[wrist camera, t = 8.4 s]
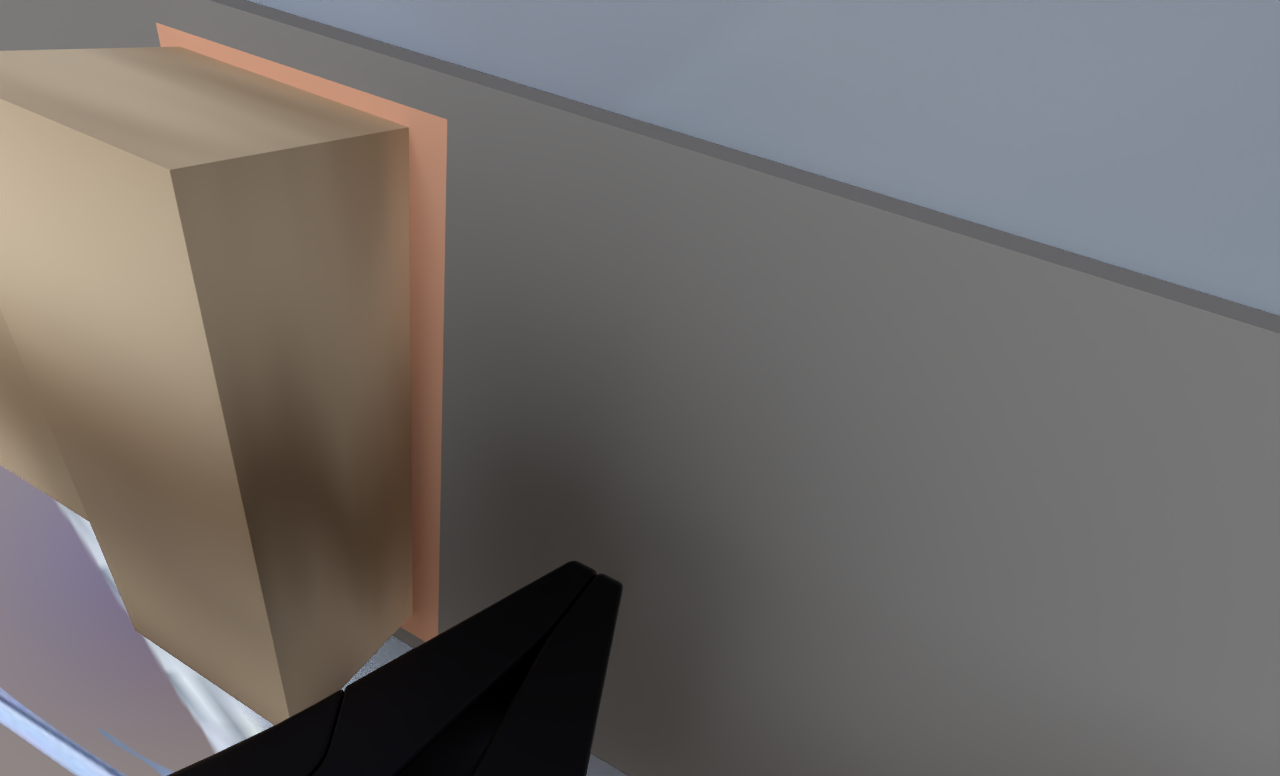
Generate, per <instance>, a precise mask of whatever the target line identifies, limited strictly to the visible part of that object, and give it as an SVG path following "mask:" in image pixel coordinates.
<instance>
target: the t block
mask: <svg viewBox="0 0 1280 776" xmlns="http://www.w3.org/2000/svg"><path fill="white" fill-rule="evenodd" d="M0 465H1V466H3V467H4V468H6V469H8V470H9V471H11V472H12V473H14V474H15V475H17V476H19V477H20V478H22V479H23V480H25V481H26V482H28V483H30V484H31V485H33V486H34V487H36V488H37V489H39V490H41V491H42V492H44V493H45V494H47V495H48V496H50V497H52V498H53V499H55V500H56V501H58V502H59V503H61V504H62V505H64V506H66V507H67V508H69V509H70V510H72V511H73V512H75V513H77V514H78V515H80V516H81V517H83V518H84V519H86V520H87V521H89V522H90V524H91V526H92V529H93V531H94V533H95V536H96V538H97V541H98V543H99V545H100V548H101V550H102V553H103V555H104V557H105V560H106V562H107V564H108V567H109V569H110V572H111V574H112V576H113V579H114V581H115V584H116V586H117V588H118V591H119V593H120V595H121V598H122V600H123V603H124V605H125V607H126V610H127V612H128V615H129V617H130V619H131V622H132V624H133V626H134V629H135V631H137V632H138V633H140V634H141V635H143V636H144V637H146V638H147V639H149V640H150V641H152V642H153V643H155V644H156V645H158V646H159V647H160V648H162V649H163V650H165V651H166V652H168V653H169V654H171V655H172V656H174V657H175V658H177V659H178V660H180V661H181V662H182V663H184V664H185V665H187V666H188V667H190V668H191V669H193V670H194V671H196V672H197V673H199V674H200V675H202V676H203V677H204V678H206V679H207V680H209V681H210V682H212V683H213V684H215V685H216V686H218V687H219V688H221V689H222V690H224V691H225V692H226V693H228V694H229V695H231V696H232V697H234V698H235V699H237V700H238V701H240V702H241V703H243V704H244V705H246V706H247V707H249V708H250V709H251V710H253V711H254V712H256V713H257V714H259V715H260V716H262V717H263V718H265V719H266V720H268V721H269V722H271V723H272V724H273V725H276V724H278V723H280V722H282V721H284V720H286V719H288V718H289V717H291V716H293V715H295V714H297V713H299V712H301V711H303V710H304V709H306V708H308V707H310V706H312V705H314V704H316V703H317V702H319V701H321V700H323V699H324V698H326V697H328V696H330V695H331V694H333V693H335V692H337V691H338V690H341V689H342V688H343V687H344V686H345V684H346V683H347V682H348V681H349V680H350V679H351V678H352V677H353V676H354V675H355V674H356V673H357V672H358V671H359V670H360V669H361V668H362V667H363V665H364V664H365V663H366V662H367V661H368V660H369V659H370V658H371V657H372V656H373V655H374V654H375V653H376V652H377V651H378V650H379V649H380V648H381V646H382V645H383V644H384V643H385V642H386V641H387V640H388V639H389V638H390V637H391V636H392V635H393V634H394V633H395V632H396V631H397V630H398V629H399V628H400V626H401V625H402V624H403V623H404V622H405V621H406V620H407V619H408V618H409V617H410V616H411V615H412V614H413V586H412V470H411V353H410V237H409V127H407V126H404V125H401V124H398V123H395V122H392V121H390V120H387V119H384V118H381V117H378V116H375V115H373V114H370V113H367V112H364V111H361V110H358V109H356V108H353V107H350V106H347V105H344V104H341V103H339V102H336V101H333V100H330V99H327V98H324V97H322V96H319V95H316V94H313V93H310V92H307V91H305V90H302V89H299V88H296V87H293V86H290V85H288V84H285V83H282V82H279V81H276V80H273V79H271V78H268V77H265V76H262V75H259V74H256V73H254V72H251V71H248V70H245V69H242V68H239V67H237V66H234V65H231V64H228V63H225V62H222V61H220V60H217V59H214V58H211V57H208V56H205V55H203V54H200V53H197V52H194V51H191V50H188V49H186V48H183V47H139V48H98V49H57V50H16V51H0Z"/></svg>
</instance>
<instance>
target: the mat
mask: <svg viewBox="0 0 1280 776" xmlns="http://www.w3.org/2000/svg"><path fill="white" fill-rule="evenodd" d="M139 47H183V48H186V49H188V50H191V51H194V52H197V53H200V54H203V55H205V56H208V57H211V58H214V59H217V60H220V61H222V62H225V63H228V64H231V65H234V66H237V67H239V68H242V69H245V70H248V71H251V72H254V73H256V74H259V75H262V76H265V77H268V78H271V79H273V80H276V81H279V82H282V83H285V84H288V85H290V86H293V87H296V88H299V89H302V90H305V91H307V92H310V93H313V94H316V95H319V96H322V97H324V98H327V99H330V100H333V101H336V102H339V103H341V104H344V105H347V106H350V107H353V108H356V109H358V110H361V111H364V112H367V113H370V114H373V115H375V116H378V117H381V118H384V119H387V120H390V121H392V122H395V123H398V124H401V125H404V126H407V127H409V237H410V353H411V470H412V586H413V614H412V615H411V616H410V617H409V618H408V619H407V620H406V621H405V622H404V623H403V624H402V625H401V626H400V628H399V629H398V630H397V631H396V632H395V633H394V634H393V636H394V637H396V638H398V639H399V640H401V641H403V642H404V643H406V644H408V645H409V646H411V647H413V648H416V647H417V646H419V645H421V644H423V643H425V642H426V641H428V640H430V639H432V638H434V637H435V636H437V635H439V634H441V633H442V632H444V631H446V630H448V629H450V628H451V627H453V626H455V625H457V624H458V623H460V622H462V621H464V620H466V619H467V618H469V617H471V616H473V615H475V614H476V613H478V612H480V611H482V610H483V609H485V608H487V607H489V606H491V605H492V604H494V603H496V602H498V601H499V600H501V599H503V598H505V597H507V596H508V595H510V594H512V593H514V592H515V591H517V590H519V589H521V588H523V587H524V586H526V585H528V584H530V583H532V582H533V581H535V580H537V579H539V578H540V577H542V576H544V575H546V574H548V573H549V572H551V571H553V570H555V569H556V568H558V567H560V566H562V565H564V564H565V563H567V562H569V561H578V562H580V563H582V564H584V565H586V566H588V567H590V568H592V569H594V570H595V571H596V572H597V575H598V574H600V573H601V574H605V575H607V576H609V577H611V578H613V579H615V580H617V581H619V582H621V583H622V585H623V591H622V596H621V601H620V606H619V611H618V616H617V621H616V626H615V631H614V636H613V642H612V647H611V652H610V657H609V662H608V667H607V672H606V677H605V682H604V687H603V692H602V697H601V702H600V707H599V712H598V717H597V723H596V728H595V733H594V738H593V743H592V748H591V754H593V755H595V756H596V757H598V758H600V759H601V760H603V761H605V762H606V763H608V764H610V765H611V766H613V767H615V768H616V769H618V770H620V771H621V772H623V773H625V774H627V775H628V776H1280V316H1277V315H1274V314H1271V313H1267V312H1264V311H1261V310H1258V309H1254V308H1251V307H1248V306H1245V305H1241V304H1238V303H1235V302H1231V301H1228V300H1225V299H1222V298H1218V297H1215V296H1212V295H1209V294H1205V293H1202V292H1199V291H1195V290H1192V289H1189V288H1186V287H1182V286H1179V285H1176V284H1173V283H1169V282H1166V281H1163V280H1159V279H1156V278H1153V277H1150V276H1146V275H1143V274H1140V273H1137V272H1133V271H1130V270H1127V269H1123V268H1120V267H1117V266H1114V265H1110V264H1107V263H1104V262H1101V261H1097V260H1094V259H1091V258H1087V257H1084V256H1081V255H1078V254H1074V253H1071V252H1068V251H1065V250H1061V249H1058V248H1055V247H1051V246H1048V245H1045V244H1042V243H1038V242H1035V241H1032V240H1029V239H1025V238H1022V237H1019V236H1015V235H1012V234H1009V233H1006V232H1002V231H999V230H996V229H993V228H989V227H986V226H983V225H979V224H976V223H973V222H970V221H966V220H963V219H960V218H957V217H953V216H950V215H947V214H943V213H940V212H937V211H934V210H930V209H927V208H924V207H921V206H917V205H914V204H911V203H907V202H904V201H901V200H898V199H894V198H891V197H888V196H885V195H881V194H878V193H875V192H871V191H868V190H865V189H862V188H858V187H855V186H852V185H849V184H845V183H842V182H839V181H835V180H832V179H829V178H826V177H822V176H819V175H816V174H813V173H809V172H806V171H803V170H799V169H796V168H793V167H790V166H786V165H783V164H780V163H777V162H773V161H770V160H767V159H763V158H760V157H757V156H754V155H750V154H747V153H744V152H741V151H737V150H734V149H731V148H727V147H724V146H721V145H718V144H714V143H711V142H708V141H705V140H701V139H698V138H695V137H691V136H688V135H685V134H682V133H678V132H675V131H672V130H669V129H665V128H662V127H659V126H655V125H652V124H649V123H646V122H642V121H639V120H636V119H633V118H629V117H626V116H623V115H619V114H616V113H613V112H610V111H606V110H603V109H600V108H597V107H593V106H590V105H587V104H583V103H580V102H577V101H574V100H570V99H567V98H564V97H561V96H557V95H554V94H551V93H547V92H544V91H541V90H538V89H534V88H531V87H528V86H525V85H521V84H518V83H515V82H511V81H508V80H505V79H502V78H498V77H495V76H492V75H489V74H485V73H482V72H479V71H475V70H472V69H469V68H466V67H462V66H459V65H456V64H453V63H449V62H446V61H443V60H439V59H436V58H433V57H430V56H426V55H423V54H420V53H417V52H413V51H410V50H407V49H403V48H400V47H397V46H394V45H390V44H387V43H384V42H381V41H377V40H374V39H371V38H367V37H364V36H361V35H358V34H354V33H351V32H348V31H345V30H341V29H338V28H335V27H331V26H328V25H325V24H322V23H318V22H315V21H312V20H309V19H305V18H302V17H299V16H295V15H292V14H289V13H286V12H282V11H279V10H276V9H273V8H269V7H266V6H263V5H259V4H256V3H253V2H250V1H246V0H0V51H16V50H57V49H98V48H139Z"/></svg>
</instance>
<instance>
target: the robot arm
mask: <svg viewBox="0 0 1280 776" xmlns="http://www.w3.org/2000/svg"><path fill="white" fill-rule="evenodd" d="M622 591H623V585H622V583H621V582H619V581H617V580H615V579H613V578H611V577H609V576H607V575H605V574H601V573H600V574H598V575H597V572H596V571H595V570H594V569H592V568H590V567H588V566H586V565H584V564H582V563H580V562H578V561H569V562H567V563H565V564H564V565H562V566H560V567H558V568H556V569H555V570H553V571H551V572H549V573H548V574H546V575H544V576H542V577H540V578H539V579H537V580H535V581H533V582H532V583H530V584H528V585H526V586H524V587H523V588H521V589H519V590H517V591H515V592H514V593H512V594H510V595H508V596H507V597H505V598H503V599H501V600H499V601H498V602H496V603H494V604H492V605H491V606H489V607H487V608H485V609H483V610H482V611H480V612H478V613H476V614H475V615H473V616H471V617H469V618H467V619H466V620H464V621H462V622H460V623H458V624H457V625H455V626H453V627H451V628H450V629H448V630H446V631H444V632H442V633H441V634H439V635H437V636H435V637H434V638H432V639H430V640H428V641H426V642H425V643H423V644H421V645H419V646H417V647H416V648H414V649H412V650H410V651H409V652H407V653H405V654H403V655H401V656H400V657H398V658H396V659H394V660H393V661H391V662H389V663H387V664H385V665H384V666H382V667H380V668H378V669H377V670H375V671H373V672H371V673H369V674H368V675H366V676H364V677H362V678H360V679H359V680H357V681H355V682H353V683H352V684H350V685H348V686H347V687H346V688H345V691H343V690H338V691H337V692H335V693H333V694H331V695H330V696H328V697H326V698H324V699H323V700H321V701H319V702H317V703H316V704H314V705H312V706H310V707H308V708H306V709H304V710H303V711H301V712H299V713H297V714H295V715H293V716H291V717H289V718H288V719H286V720H284V721H282V722H280V723H278V724H276V725H274V726H273V727H271V728H269V729H267V730H265V731H263V732H261V733H258V734H256V735H254V736H252V737H250V738H248V739H246V740H244V741H242V742H239V743H237V744H235V745H233V746H231V747H229V748H227V749H225V750H223V751H220V752H218V753H216V754H214V755H212V756H210V757H207V758H205V759H203V760H201V761H199V762H196V763H194V764H192V765H190V766H188V767H185V768H183V769H181V770H179V771H176V772H174V773H172V774H170V775H167V776H586V773H587V768H588V763H589V758H590V753H591V748H592V743H593V738H594V733H595V728H596V723H597V717H598V712H599V707H600V702H601V697H602V692H603V687H604V682H605V677H606V672H607V667H608V662H609V657H610V652H611V647H612V642H613V636H614V631H615V626H616V621H617V616H618V611H619V606H620V601H621V596H622Z"/></svg>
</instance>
